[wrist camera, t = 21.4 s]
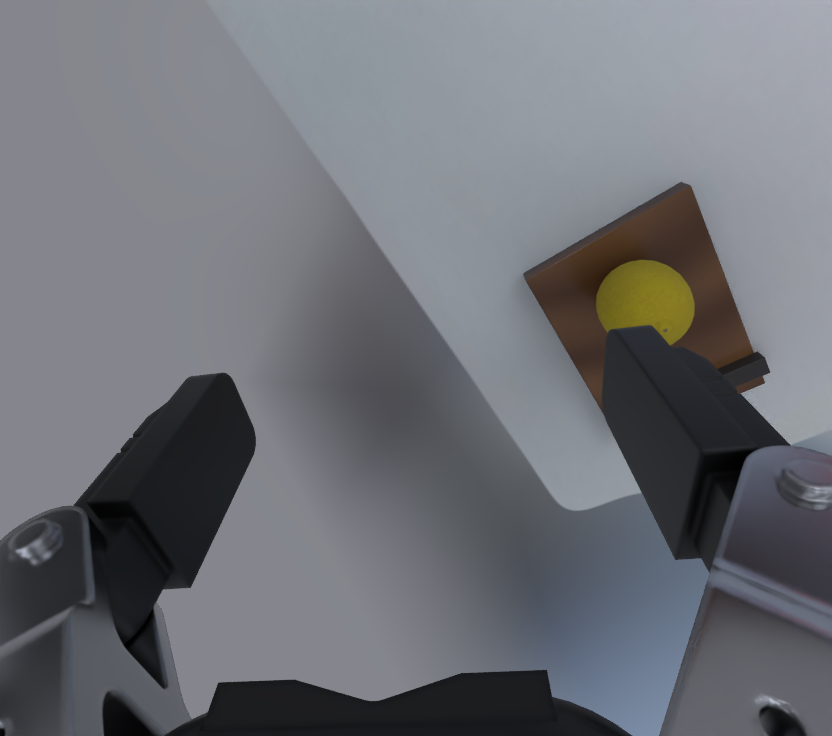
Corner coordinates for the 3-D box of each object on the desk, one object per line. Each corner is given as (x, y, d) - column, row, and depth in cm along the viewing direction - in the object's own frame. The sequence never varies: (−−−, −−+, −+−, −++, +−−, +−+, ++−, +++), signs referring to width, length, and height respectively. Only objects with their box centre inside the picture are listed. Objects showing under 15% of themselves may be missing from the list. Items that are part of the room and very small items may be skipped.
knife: (620, 428, 40) (624, 435, 39) (611, 412, 40) (615, 419, 39) (763, 368, 36) (771, 374, 36) (756, 349, 36) (764, 355, 35)
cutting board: (523, 273, 36) (525, 280, 34) (681, 181, 31) (691, 185, 30) (615, 432, 42) (620, 443, 41) (754, 373, 38) (765, 383, 37)
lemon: (637, 229, 32) (687, 265, 25) (677, 286, 34) (734, 334, 27) (569, 280, 34) (597, 327, 27) (610, 331, 36) (647, 387, 29)
